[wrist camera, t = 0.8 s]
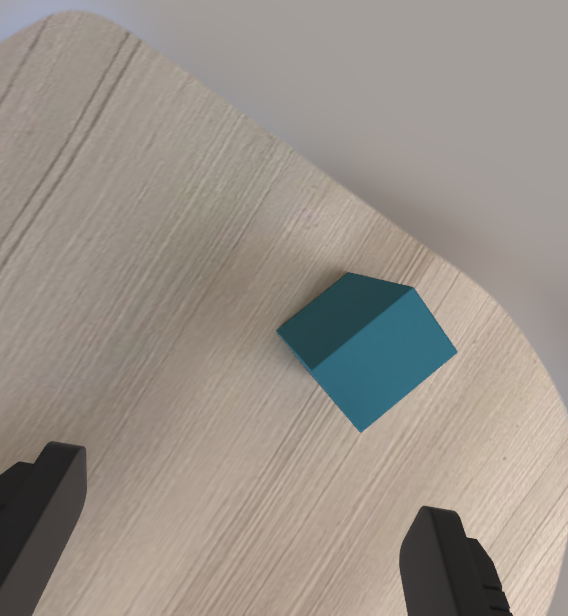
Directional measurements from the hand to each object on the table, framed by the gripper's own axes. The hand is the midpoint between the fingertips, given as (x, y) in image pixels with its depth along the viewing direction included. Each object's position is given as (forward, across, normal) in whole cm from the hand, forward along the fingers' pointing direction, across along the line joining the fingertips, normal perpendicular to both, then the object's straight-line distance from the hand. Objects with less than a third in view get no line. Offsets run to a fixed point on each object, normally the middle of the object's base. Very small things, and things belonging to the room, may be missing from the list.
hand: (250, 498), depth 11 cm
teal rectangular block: (+18, -4, +6) cm, 20 cm away
